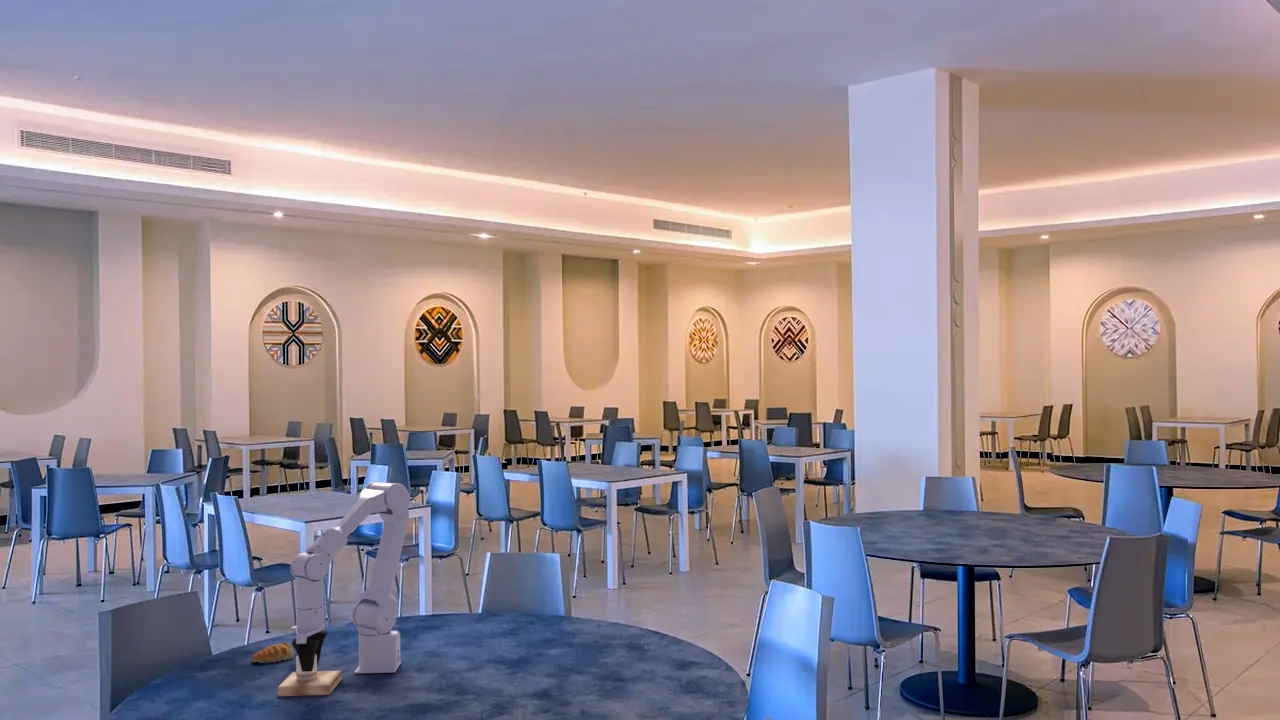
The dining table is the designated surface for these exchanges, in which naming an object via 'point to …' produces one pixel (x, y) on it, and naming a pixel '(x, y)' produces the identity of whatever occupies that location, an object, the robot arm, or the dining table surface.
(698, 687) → the dining table surface
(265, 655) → the pastry
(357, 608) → the robot arm
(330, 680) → the base board
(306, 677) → the pot
